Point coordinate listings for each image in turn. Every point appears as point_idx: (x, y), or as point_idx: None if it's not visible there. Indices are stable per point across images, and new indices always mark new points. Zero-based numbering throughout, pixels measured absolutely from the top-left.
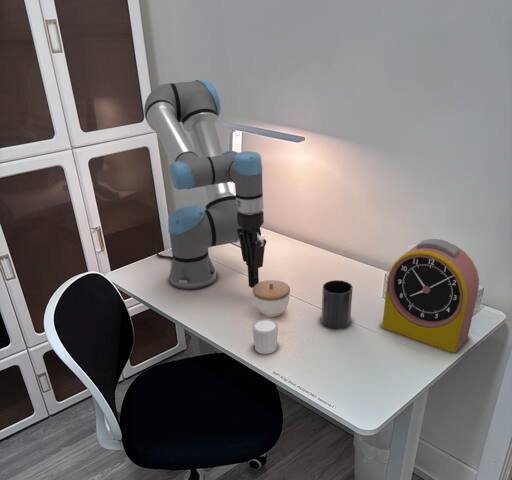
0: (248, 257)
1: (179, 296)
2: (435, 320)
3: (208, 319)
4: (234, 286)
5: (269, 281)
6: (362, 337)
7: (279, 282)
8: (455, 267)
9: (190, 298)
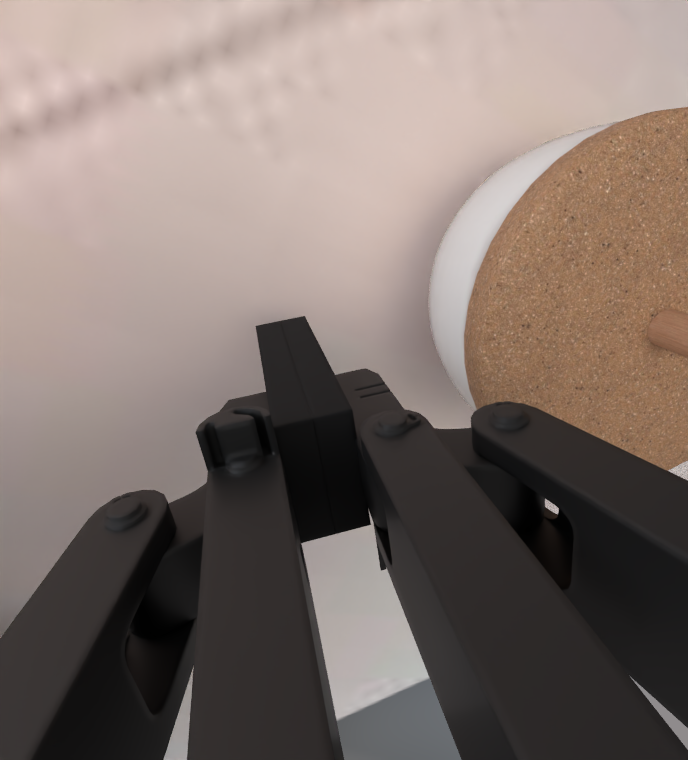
0: (322, 654)
1: None
2: None
3: (398, 615)
4: (7, 413)
5: (541, 291)
6: None
7: (629, 189)
8: None
9: None
